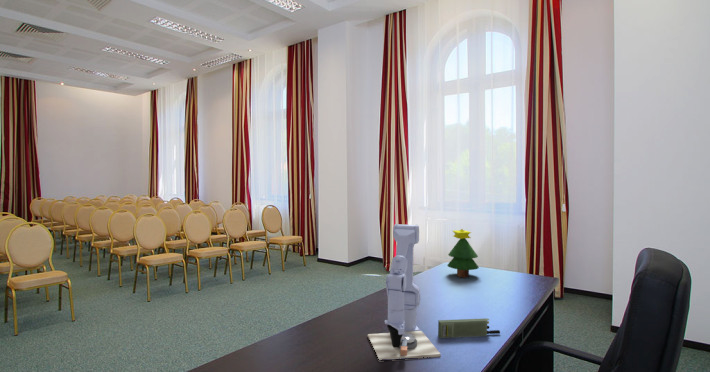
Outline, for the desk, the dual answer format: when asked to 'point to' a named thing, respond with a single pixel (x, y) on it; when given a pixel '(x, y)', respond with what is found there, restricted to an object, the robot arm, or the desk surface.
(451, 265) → the decorative tree
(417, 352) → the board
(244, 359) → the desk surface
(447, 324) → the handheld radio
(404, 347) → the frying pan
